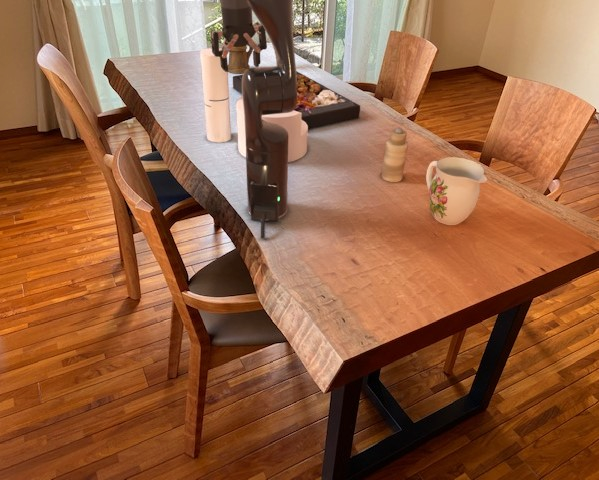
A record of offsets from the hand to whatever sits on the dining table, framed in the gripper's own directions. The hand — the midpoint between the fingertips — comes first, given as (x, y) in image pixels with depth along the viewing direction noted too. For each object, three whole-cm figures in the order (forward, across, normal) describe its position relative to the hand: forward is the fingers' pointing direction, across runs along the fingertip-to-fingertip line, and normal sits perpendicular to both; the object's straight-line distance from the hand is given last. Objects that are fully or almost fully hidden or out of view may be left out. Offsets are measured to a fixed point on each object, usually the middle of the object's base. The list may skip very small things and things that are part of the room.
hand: (241, 68), depth 132 cm
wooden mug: (+27, +22, +66) cm, 75 cm away
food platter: (+25, +26, +26) cm, 45 cm away
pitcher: (+22, +31, -54) cm, 66 cm away
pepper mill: (+23, +29, -33) cm, 49 cm away
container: (+23, +6, -6) cm, 24 cm away
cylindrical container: (+22, -7, +7) cm, 24 cm away
